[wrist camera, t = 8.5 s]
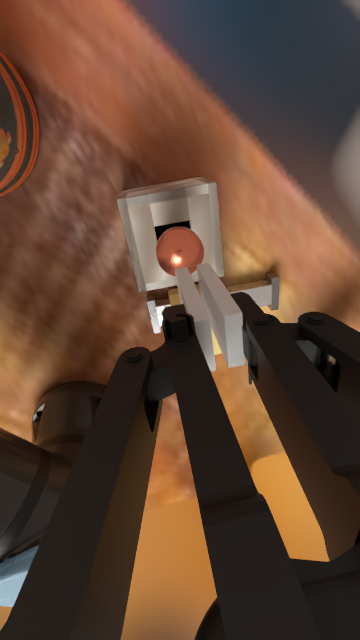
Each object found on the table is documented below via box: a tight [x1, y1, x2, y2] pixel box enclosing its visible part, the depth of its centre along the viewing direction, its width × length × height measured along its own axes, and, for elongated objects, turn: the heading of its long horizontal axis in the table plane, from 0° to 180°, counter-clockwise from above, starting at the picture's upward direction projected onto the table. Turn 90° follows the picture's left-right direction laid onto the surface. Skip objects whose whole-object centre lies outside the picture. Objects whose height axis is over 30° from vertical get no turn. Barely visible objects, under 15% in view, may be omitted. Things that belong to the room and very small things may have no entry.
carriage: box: [168, 284, 222, 355], centre depth 37 cm, size 5×6×8 cm
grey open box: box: [117, 177, 224, 292], centre depth 32 cm, size 9×9×9 cm
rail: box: [147, 272, 279, 333], centre depth 41 cm, size 18×5×2 cm, turn 99°
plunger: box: [156, 226, 204, 276], centre depth 26 cm, size 4×4×5 cm
